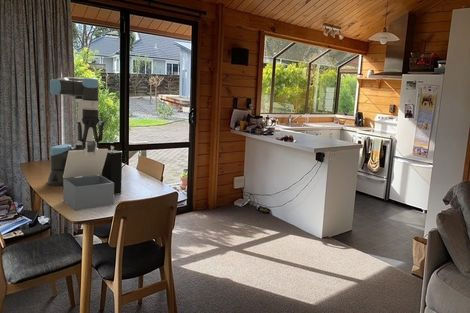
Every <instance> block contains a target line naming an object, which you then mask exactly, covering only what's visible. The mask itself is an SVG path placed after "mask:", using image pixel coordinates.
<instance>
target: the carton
mask: <svg viewBox="0 0 470 313" xmlns="http://www.w3.org/2000/svg"><path fill="white" fill-rule="evenodd" d="M62 190H63V194H62V195H63V202H65V204H67V205H68V206H69V207H70V208H71V209H72V210H73V211H82V210H89V209H95V208H100V207H101V208H103V207H108V206H114V205H115V202H114V201H115V195H114V183H113V182H112V181H110V180H108V179H107V178H105V177H103V176H102V174H101V175H97V176H87V177H82V176H81V177H74V178H66V179H63V189H62Z"/></svg>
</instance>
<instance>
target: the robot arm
mask: <svg viewBox="0 0 470 313" xmlns="http://www.w3.org/2000/svg"><path fill="white" fill-rule="evenodd" d="M99 81H100V80H99V78H96V77H76V76H74V77H73V76H64V77H57V78H51V79H50V80H49V92H50V93H51V95H58V96H59V95H62V96H66V97H75V99H74V100H75V101H76V102H77V121H76V123H75V124H76V126H77V142H76V143H75V146H72V144H65V143H64V144H58V145H54V146H52V147H50V153H49V157H50V172H49V175H48V178H47V184H48V185H51V186H55V187H58V186H60V187H62V186H63V179H66V178H63V175H64V170H65V165H66V161H67V156H68V151H72V150H84V155H87V142H86V141H94V142H95V144H96V146H95V150H94V152H93V154H94V155H97V149H99V146H100V145H99V143H100V142H102V141H103V134H104V124H105V122H104V121H101V120H100V119H99V94H100V93H99V91H100V90H99V87H100V84H99ZM97 125H98V126H97ZM97 127H98V128H97ZM97 129H98V130H97ZM71 178H75V177H71Z"/></svg>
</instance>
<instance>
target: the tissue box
mask: <svg viewBox="0 0 470 313" xmlns="http://www.w3.org/2000/svg"><path fill="white" fill-rule="evenodd" d="M122 170H123V151H119V150H115V146H114V145H110V149H108V153H107V156H106V160H105V163H104V167H103V170H102V173H101V175H102V176H103V177H105V178H107V179H108V180H110V181H112V182H113V183H114V196H116V195H120V194H122V181H123V180H122V177H123V176H122V174H123V171H122Z"/></svg>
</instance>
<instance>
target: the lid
mask: <svg viewBox="0 0 470 313" xmlns="http://www.w3.org/2000/svg"><path fill="white" fill-rule="evenodd" d="M86 142H87V155H84V150H72V151H68V156H67V161H66V165H65V170H64V175H63V178H71V177H74V178H76V177H82V176H92V175H102V170H103V167H104V163H105V160H106V156H107V153H108V150H109V149H108V148H98V149H97V155H94V154H93V152H94V150H95V146H96V144H95V140H93V141H86Z"/></svg>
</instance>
